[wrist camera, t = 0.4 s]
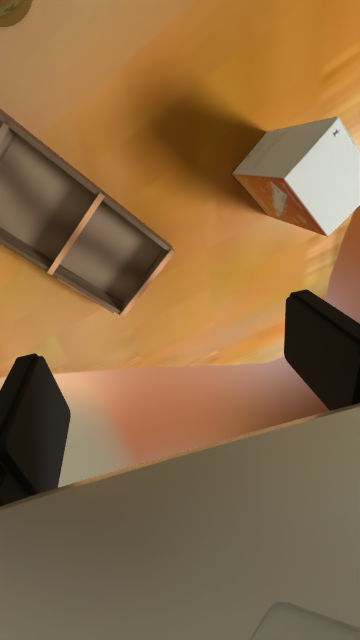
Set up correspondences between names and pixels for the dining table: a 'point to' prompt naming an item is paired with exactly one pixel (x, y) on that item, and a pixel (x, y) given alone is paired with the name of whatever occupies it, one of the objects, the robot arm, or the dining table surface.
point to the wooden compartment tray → (73, 224)
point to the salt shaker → (13, 11)
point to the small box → (305, 175)
